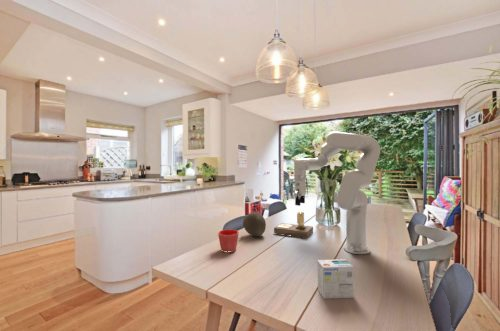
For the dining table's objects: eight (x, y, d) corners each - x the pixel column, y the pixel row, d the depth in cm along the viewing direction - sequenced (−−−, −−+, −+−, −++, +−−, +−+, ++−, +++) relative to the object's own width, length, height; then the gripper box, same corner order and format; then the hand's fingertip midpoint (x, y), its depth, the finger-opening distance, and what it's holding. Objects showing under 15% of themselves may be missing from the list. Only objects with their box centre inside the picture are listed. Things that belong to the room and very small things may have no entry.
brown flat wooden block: (307, 238, 142) (307, 231, 142) (274, 233, 153) (273, 227, 153) (313, 232, 155) (312, 226, 155) (281, 228, 165) (281, 222, 165)
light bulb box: (346, 287, 85) (345, 258, 85) (354, 298, 78) (354, 266, 78) (316, 288, 84) (316, 259, 85) (323, 299, 78) (322, 267, 78)
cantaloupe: (256, 231, 159) (255, 209, 159) (270, 236, 148) (270, 212, 148) (239, 236, 150) (239, 212, 150) (253, 241, 139) (253, 216, 139)
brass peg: (303, 235, 149) (302, 213, 149) (296, 234, 151) (296, 213, 151) (305, 233, 152) (304, 212, 152) (298, 233, 154) (298, 211, 154)
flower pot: (241, 252, 122) (241, 233, 122) (221, 255, 118) (221, 236, 118) (235, 245, 132) (235, 228, 132) (216, 248, 128) (216, 230, 128)
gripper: (301, 178, 142) (301, 206, 142) (309, 177, 157) (309, 202, 158) (290, 178, 146) (290, 205, 146) (298, 177, 161) (298, 201, 161)
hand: (300, 204), depth 152 cm, fingers open, 9 cm apart
